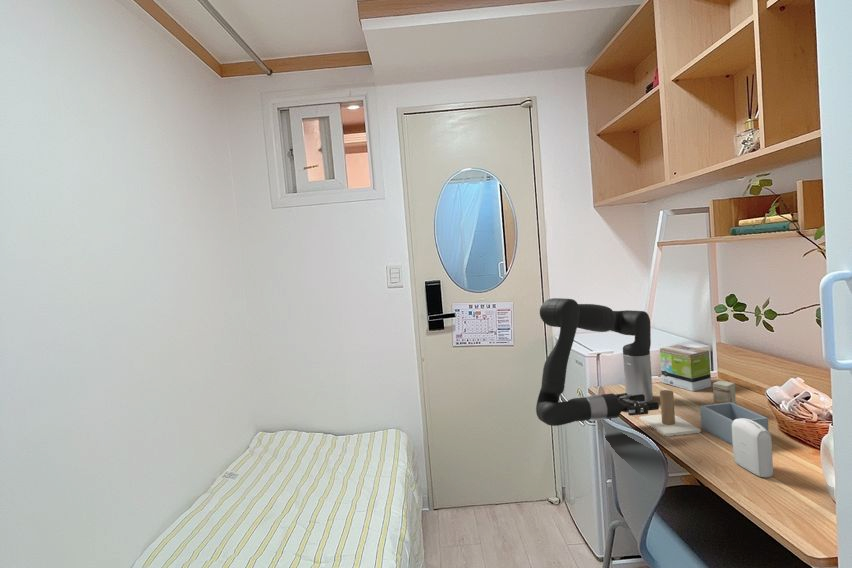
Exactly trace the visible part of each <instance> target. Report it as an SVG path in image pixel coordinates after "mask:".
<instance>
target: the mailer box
mask: <svg viewBox="0 0 852 568" xmlns="http://www.w3.org/2000/svg"><path fill="white" fill-rule="evenodd" d="M699 409H700V422H701V423H700V424H701V430H702V429H703V430H704V431H705V432H708V433H710V434H711V435H713V436H715V437H717V438H718V439H720V440H722V441H723V442H725V443H728V444H729V445H731V446H732V447H733V441H732V423H733V421H734V420H735V419H740V418H745V419H749V420H752V421H754V422H756V423H758V424H760V425H761V426H763V427H764V428H765V429H766V430H767V431H768V432H769V418H768V417H766V416H764V415H761V414H759V413H757V412H755V411H753V410H751V409H748V408H745V407H743V406H741V405H740V404H739V405H738V404H734V403H732V402H729V403H721V404H714V403H713V404H704V405H700V407H699ZM769 433H770V432H769Z"/></svg>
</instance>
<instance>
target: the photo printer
mask: <svg viewBox="0 0 852 568" xmlns="http://www.w3.org/2000/svg"><path fill="white" fill-rule="evenodd" d="M732 441H733V446H732V453H733V455H732V456H733V461H734V463H736V464H737V465H738V466H740V467H742V468H744V469H745V470H747V471H748V472H750V473H752V474H754V475H755V476H758V477H760V478H770V477H772V476H773V475H774V463H773V461H774V460H773V448H772V444H773V443H772V435H771V433H770V432H768V431H767V430H766V429H765V428H764V427H763V426H761V425H760V424H758V423H756V422H754V421H752V420H749V419H745V418H740V419H735V420H734V421H733V423H732Z"/></svg>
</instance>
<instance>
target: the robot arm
mask: <svg viewBox="0 0 852 568" xmlns="http://www.w3.org/2000/svg"><path fill="white" fill-rule="evenodd" d="M539 315H540V316H539V317H540V319H541V321H542V322H543V323H544V324H545V325H547V326H550V327H552V328H553V327H555V328H559V336H558V339H557V341H556V342H555V344H554V346H553V348H552V350H551V351H550V352H549V354H548V356H547V357H546V359H545V361H544V365H543V369H542V370H543V371H542V377H541V387H540V390H539V393H538V397H537V400H536V406H535V411H536V412H535V413H536V416H537V418H538V420H539V421H541V422H542V423H544V424H546V425H548V426H552V427H556V426H563V425H568V424H571V423H574V422H583V421H584V422H585V421H600V420H610V419H611V420H612V419H618V418H619V417H620V416H621V413H627V415H628V416H640V415H641V416H642V415H643V416H644V415H649V411H656V410H659V409H660V404H659V402H657V401H654V395H653V394H654V393H653V381H652V378H653V375H652V362H651V346H652V345H651V343H652V340H651V339H652V338H651V337H652V336H651V335H652V334H651V331H652V329H651V317H650V316H649V314H648V312H646V311H643V310H626V309H625V310H613V309H612V308H610V307H608V306H605V305H600V304H596V303H595V304H594V303H578V302H577V301H576V300H575V299H572V298H562V297H561V298H560V297H559V298H557V297H555V298H554V297H553V298H548V299H546V300H544V302H542V304H541V306H540V308H539ZM577 329H581V330H586V331H590V332H597V333H598V332H599V333H607V332H609V331H611V332H614V333H618V334H619V335H623V336H634V341H633V342H631V343H627V344H625V345H623V346H622V358H623V372H624V375H623V376H624V386H625V393H617V394H616V393H603V394H595V395H588V396H584V397H583V396H582V397H574V398H571V399H568V400H566V401H559V400H560V397H561V395H562V394H563V393H564V392H565V384H566V376H567V368H568V367H567V366H568V364H569V358H570V354H571V350H572V347H573V344H574V341H575V336H576V333H577Z"/></svg>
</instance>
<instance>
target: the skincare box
mask: <svg viewBox="0 0 852 568" xmlns="http://www.w3.org/2000/svg"><path fill="white" fill-rule="evenodd" d="M712 391H713V392H712V393H713V404H721V403H729V402H732V403H734V404H736V403H737V401H736V399H737V398H736V383H735V382H732V381H726V380H720V379H719V380H717V381H714V382H712Z"/></svg>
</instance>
